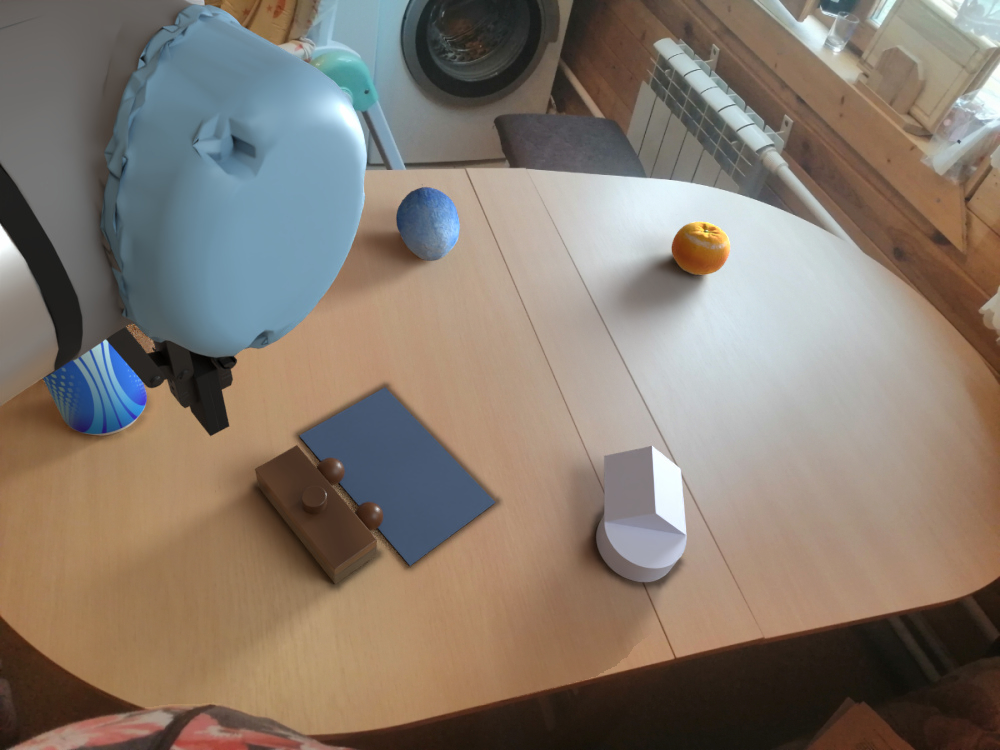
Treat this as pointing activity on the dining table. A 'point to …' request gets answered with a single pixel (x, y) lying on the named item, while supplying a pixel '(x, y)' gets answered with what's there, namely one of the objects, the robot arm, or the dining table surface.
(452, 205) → the egg
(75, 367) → the beer can
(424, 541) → the mat
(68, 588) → the dining table surface
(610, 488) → the wedge on round base
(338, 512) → the brown block with knob
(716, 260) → the fruit
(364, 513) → the ball
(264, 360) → the dining table surface
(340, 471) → the ball
